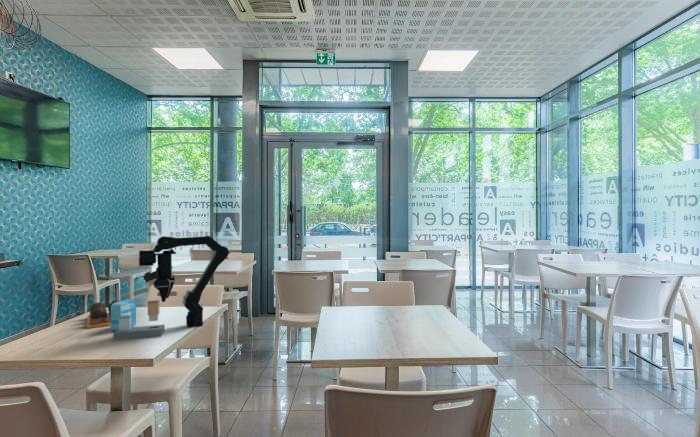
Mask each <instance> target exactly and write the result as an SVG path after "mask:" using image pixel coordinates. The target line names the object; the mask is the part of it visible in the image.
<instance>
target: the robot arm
mask: <svg viewBox="0 0 700 437" xmlns="http://www.w3.org/2000/svg"><path fill="white" fill-rule="evenodd" d="M197 245H198V246H199V245H201V246H202V245H205V246H207V247H208V248H209V249H210V250H211V251H212V254H211V257H210V261H209V263H208V264H207V266H206V268H205V269H204V271H203V273H202V274H201V275H200V277H199V279H198V281H197V282H196V284H195V285H194V287H193V288H192V289H191V290H189V289H187V291H186V293H185V294H184V296H182V298H183V299H182V304H183V306H184V308H185V309H186V310H187V315H186V318H185V321H186V322H185V323H186V326H187V328H192V327H202V326H203V325H204V315H203V314H204V312H203V311H204V307H203V306H202V305H201V304H200V301H201V297H202V294H203V291H204V290H205V288H206V287H207V285H208V284H209V282H210V280H211V278H213V275H214V273H215V272H216V270H217V268H218V267H219V266H220V265H221V264H222V263H223V262H224V261H225V260H226V258H228V256H229V255H230V254H229V253H230V252H229V248H227V247H226V246H223V245H221V244H220V243H219V242H217V241H216V240H214V239H213V237H212V236H210V235H205V236H204V235H203V236H190V237H173V236H165V235H164V236H160V237H158V238H157V240H156V245H155V246H154V247H153V249H151V250H149V249H148V250H144V249H143V250H138V267H147V266H154V264H156V263H157V267H156V268H155V271H152V272H150V271H148V272H145V273H144V275H142V276H143V280H144V281H145V283H146V284H147V283H149V282H151V281H152V280H153V281H154V282H153V287H154V289H156V290H158V292H159V295H160V298H161V302H162V303H165V302H166V300H167V299H169V298H170V295H171V292H172V289H173V287H174V284H175V281H176V275H174V274H173V265H172V260H173V259H172V255H176V254H177V252H176V251H174V248H177V247H185V246H197Z"/></svg>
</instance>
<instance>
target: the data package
mask: <svg viewBox="0 0 700 437" xmlns="http://www.w3.org/2000/svg"><path fill="white" fill-rule="evenodd" d="M119 301H120V302H117V303H114V304H112V305H111V326H110V330H111V331H113V332H115V331H116V330H117V329H118V328H119V319H118V317H119V316H123V315H131V327H135V326H136V324H137V303H136V300H135V299H123V300H119Z"/></svg>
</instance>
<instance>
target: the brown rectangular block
mask: <svg viewBox="0 0 700 437" xmlns="http://www.w3.org/2000/svg"><path fill="white" fill-rule="evenodd" d="M146 303H147V316H148V321H149V322H155V321H156V322H157V321H158V320H159V315H160V299H156V300H148V301H147V302H146Z"/></svg>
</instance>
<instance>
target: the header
mask: <svg viewBox="0 0 700 437" xmlns="http://www.w3.org/2000/svg"><path fill="white" fill-rule="evenodd" d="M164 334H165V324H154V325H153V324H152V325H144V326H143V325H141V326H132V327H131V329H130V330H127V331H119V328H118V329H117V330H116V331H113V333H112V338H113V341H120V340H121V341H123V340H134V339H145V338H146V339H147V338H157V337H162V336H163V335H164Z"/></svg>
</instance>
